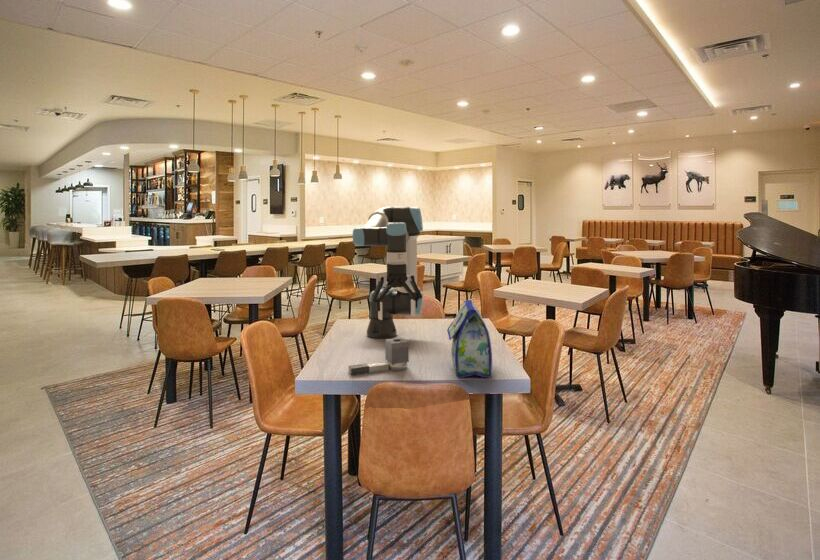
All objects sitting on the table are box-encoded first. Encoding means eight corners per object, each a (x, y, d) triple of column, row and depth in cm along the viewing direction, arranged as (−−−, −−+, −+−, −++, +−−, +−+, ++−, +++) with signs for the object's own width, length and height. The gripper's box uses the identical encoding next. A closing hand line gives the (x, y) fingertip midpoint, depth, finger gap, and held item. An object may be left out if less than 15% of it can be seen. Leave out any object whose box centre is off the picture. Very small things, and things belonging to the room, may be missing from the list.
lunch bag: (446, 361, 196) (447, 298, 193) (487, 362, 195) (488, 298, 192) (449, 379, 174) (450, 308, 171) (495, 379, 173) (496, 308, 170)
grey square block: (385, 359, 189) (385, 338, 188) (401, 357, 191) (401, 337, 190) (391, 363, 182) (391, 342, 181) (408, 361, 185) (408, 340, 184)
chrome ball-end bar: (347, 370, 183) (346, 351, 182) (402, 364, 192) (402, 345, 191) (352, 377, 176) (352, 357, 175) (410, 369, 185) (410, 350, 184)
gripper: (368, 265, 174) (369, 322, 177) (430, 262, 183) (430, 317, 186) (362, 263, 181) (363, 318, 184) (422, 261, 190) (422, 313, 193)
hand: (396, 317), depth 185 cm, fingers open, 13 cm apart
